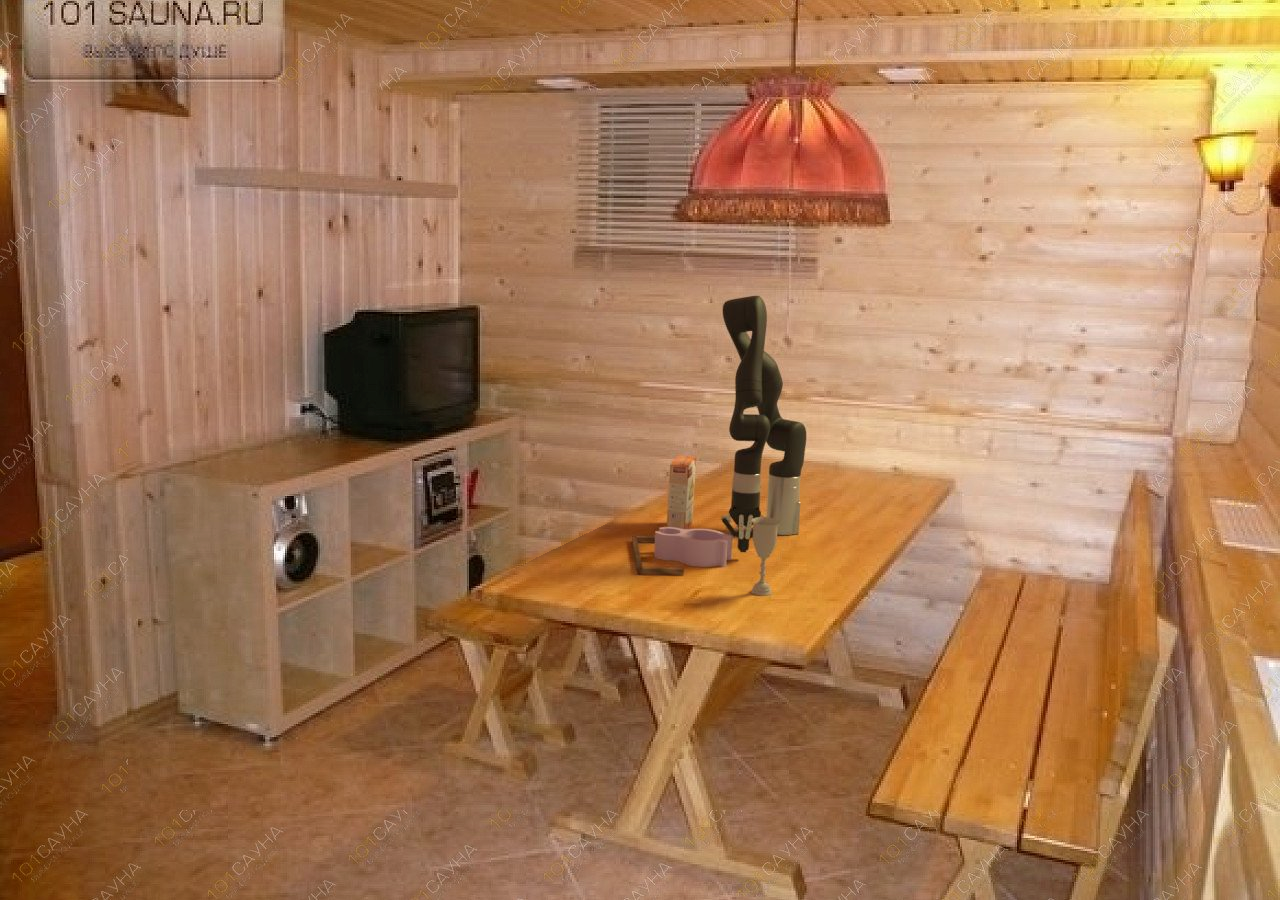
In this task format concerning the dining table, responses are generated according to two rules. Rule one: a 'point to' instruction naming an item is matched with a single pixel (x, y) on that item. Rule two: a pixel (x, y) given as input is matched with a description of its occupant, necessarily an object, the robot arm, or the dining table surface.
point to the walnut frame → (646, 569)
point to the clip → (693, 546)
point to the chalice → (764, 548)
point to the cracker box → (681, 492)
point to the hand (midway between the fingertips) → (742, 551)
